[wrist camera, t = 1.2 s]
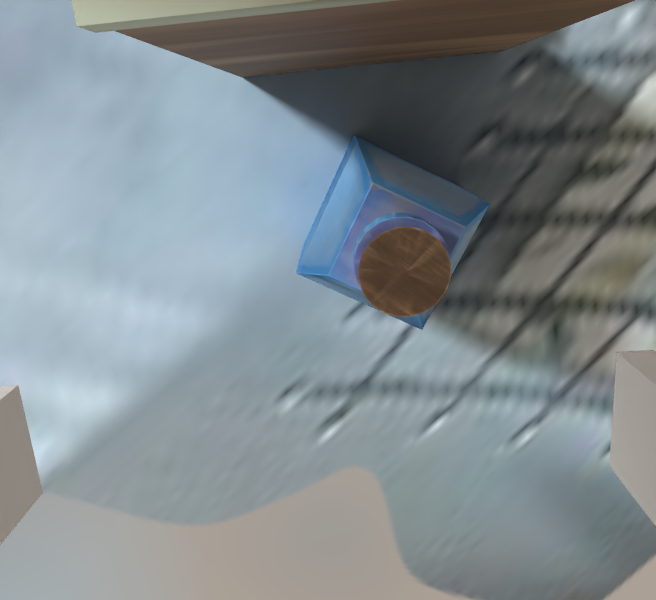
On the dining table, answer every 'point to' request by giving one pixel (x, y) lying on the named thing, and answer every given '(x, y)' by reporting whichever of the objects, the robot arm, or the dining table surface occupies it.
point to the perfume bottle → (390, 233)
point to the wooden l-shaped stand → (330, 28)
